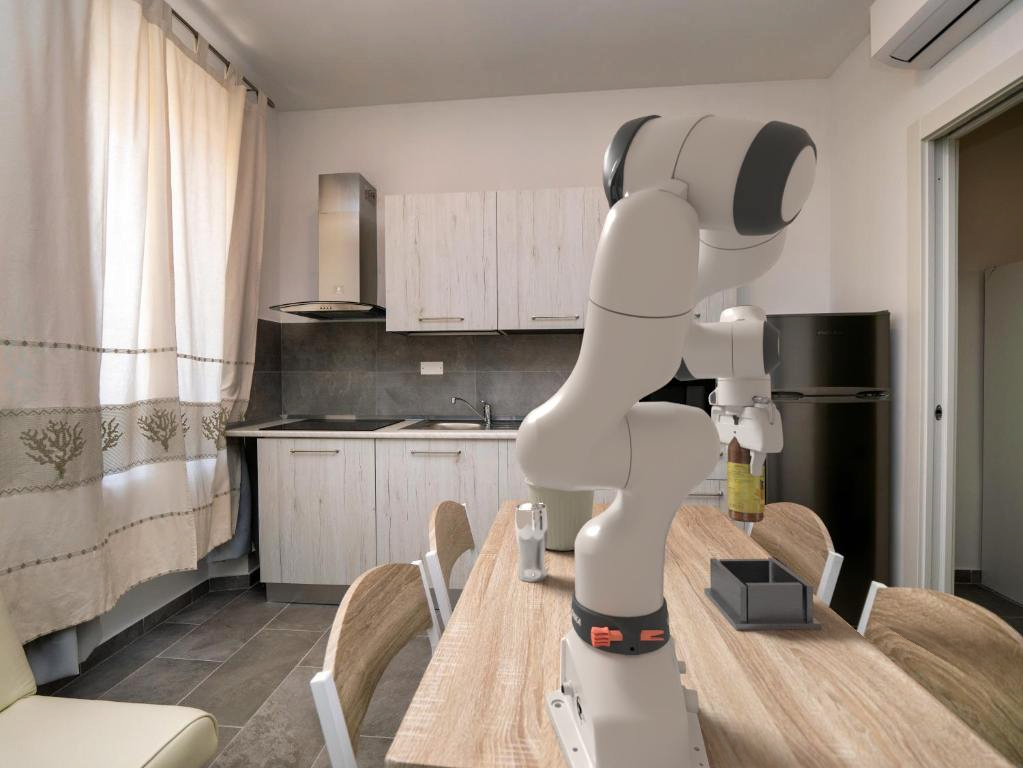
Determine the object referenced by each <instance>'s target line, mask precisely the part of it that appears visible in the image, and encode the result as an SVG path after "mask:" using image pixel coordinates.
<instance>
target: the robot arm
mask: <svg viewBox="0 0 1023 768" xmlns="http://www.w3.org/2000/svg"><path fill="white" fill-rule="evenodd" d="M817 153H818V150H817V146H816V143H815V142H814V141H813V139H812V138H811V136H810V135H809V133H808V131H806V129H805V128H803V127H800V126H798V125H795V124H791V123H788V122H784V121H780V120H771V121H769V122H763V121H758V120H752V119H751V120H750V119H745V118H737V117H729V116H728V117H726V116H716V115H715V114H709V113H704V114H703V113H702V114H701V113H698V114H696V113H695V114H694V113H693V114H691V113H690V114H678V115H668V116H667V115H666V116H661V115H659V114H658V115H657V114H652V115H651V114H650V115H646V116H640V117H637V118H634V119H630V120H628V121H626V122H625V123H623V124H622V125H621V126H620V127H619V128H618V130H617V131H616V132H615V135H613V137H612V138H611V140H610V141H609V144H608V145H607V148H606V150H605V153H604V157H603V163H602V170H601V171H602V174H601V175H602V184H603V189H604V191H603V192H604V195H605V198H606V200H607V203H608V207H609V211H608V213H607V215H606V217H605V220H604V223H603V227H602V229H601V234H600V237H599V241H598V244H597V246H596V247H597V248H596V251H595V256H594V261H593V265H592V266H593V267H592V272H591V276H590V277H591V278H590V283H589V284H590V285H589V292H588V301H587V307H586V308H587V310H586V316H585V317H586V318H585V325H584V331H583V336H582V342H581V347H580V351H579V356H578V359H577V361H576V363H575V365H574V368H573V370H572V371H571V373H570V374H569V376H568V378H567V379H566V381H565V382H564V384H563V385H562V386H561V387H560V388H559V389H558V390H557V392H556V393H555V394H553V395H552V397H550V398H549V399H548V400H547V401H545V402H544V403H542V404H541V405H539V406H537V407H536V408H534V409H533V410H531V411H530V412H529V413H528V414H527V415H526V416H525V417H524V419H523V420H522V422H521V424H520V426H519V428H518V431H517V433H516V438H515V456H516V460H517V463H518V465H519V468H520V470H521V472H522V475H524V476H525V479H526V478H527V479H528V480H529V481H530V482H531V483H532V484H533V485H535V486H540V487H546V488H551V489H557V490H564V491H593V490H594V491H611V490H612V491H613V490H614V491H616V490H617V494H616V496H615V498H614V500H613V501H612V503H611V504H610V505H609V506H608V507H607V508H606V509H605V510H604V511H603V512H601V513H599V514H597V515H596V516H594V517H592V519H590V520H589V521H588V522H586V523H585V525H584V526H583V527H582V528H581V530H580V531H579V533H578V535H577V537H576V540H575V549H574V590H573V591H572V594H571V595H572V597H571V603H570V612H571V624H572V627H570V629H569V630H568V632H567V633H566V634H565V635H563V637H562V638H561V640H560V652H559V653H560V657H559V660H560V661H559V688H558V689H555V690H554V691H551V692H550V693H548V695H547V696H546V701H545V708H546V710H547V713H548V715H549V718H550V721H551V724H552V726H553V728H554V731H555V734H556V737H557V738H558V742H559V744H560V746H561V749H562V751H563V754H564V757H565V759H566V762H567V765H568V768H711V767H710V763H709V758H708V754H707V750H706V746H705V741H704V738H703V734H702V729H701V724H700V721H699V717H698V713H700V712H699V711H700V702H699V701H700V700H699V695H698V691H697V690H695V689H693V688H686V685H684V684H683V683H682V679H681V675H686V674H687V665H686V662H685V661H683V660H678V658H677V653H676V638H675V637H673V636H672V634H671V630H670V614H669V610H668V603H667V599H666V598H665V595H664V591H665V590H664V589H665V588H664V587H665V586H664V580H665V577H664V576H665V559H666V558H665V556H666V548H667V547H666V546H667V541H668V535H669V532H670V529H671V527H672V524H673V521H674V520H675V517H676V515H677V513H678V511H679V510H680V508H681V506H682V504H683V503H684V501H686V499H687V498H688V496H689V495H690V494H691V493H692V492H693V491H694V490H695V489H696V488H697V487H698V486H700V485H701V484H702V483H703V482H705V481H706V480H707V479H708V478H709V477H711V475H712V474H713V472H714V471H715V469H716V468H717V465H718V463H719V459H720V457H721V446H722V445H721V443H722V444H725V449H726V453H727V454H728V451H727V449H728V445H729V443H730V442H731V440H732V439H733V437H734V436H735V437H736V438H737V440H738V442H739V444H740V446H741V447H742V448H746V449H750V456H752V458H751V463H750V465H748V469H749V470H748V473H749V474H751V475H753V476H761V475H762V465H763V463H764V464H765V461H766V458H767V454H769V453H770V454H772V453H774V454H775V453H778V454H779V453H781V452H782V450H783V448H784V435H783V433H784V432H783V424H782V418H781V413H780V411H779V409H777V406H776V404H774V402H773V400H772V390H771V389H772V387H771V386H772V384H771V383H772V382H771V375H770V373H771V372H773V371H774V370H775V369H776V368H777V367H779V366H780V364H782V362H781V360H780V337H781V331H780V330H779V329H778V328H777V327H775V326H774V325H773V324H771V323H770V322H769V321H768V319H767V315H766V311H765V309H763V308H762V307H760V306H758V305H757V306H756V305H753V304H752V305H750V304H746V305H745V304H743V305H736V306H735V305H734V306H732V307H729V308H726V309H725V310H723V311H722V312H721V313H720V316H719V321H715V322H714V321H713V322H696V321H694V320H695V319H694V318H695V313H696V308H697V306H698V305H699V304H700V303H701V302H703V301H705V300H706V299H708V298H710V297H713V296H716V295H719V294H721V293H723V292H727V291H730V290H733V289H737V288H740V287H743V286H746V285H748V284H751V283H753V282H754V281H756V280H758V279H759V278H761V277H762V276H764V275H765V274H766V273H768V272H769V271H770V270H771V269H772V268H773V267H774V266H775V265H776V263H778V261H779V259H780V257H781V255H782V253H783V251H784V247H785V243H786V239H787V233H788V226H789V225H791V224H792V223H793V222H794V221H795V220H796V218H797V217H798V216H799V214H800V212H801V211H802V210H803V208H804V206H805V203H806V202H807V200H808V198H809V197H810V195H811V192H812V189H813V186H814V182H815V179H816V172H817V160H818V154H817ZM673 378H676V379H677V380H678V381H680V382H684V381H696V380H701V379H702V380H705V379H717V386H716V388H715V389H714V390H713V391H712V392H711V393H710V394H709V396H708V402H709V405H711V414H710V415H711V416H710V415H709V414H708V413H707V412H706V411H705V410H704V409H703V408H700V407H696V406H691V405H687V404H682V403H681V404H680V403H675V402H671V401H670V402H669V401H641V402H639V401H640V400H642V399H643V398H644V397H647V396H648V395H650V394H652V393H654V392H656V391H658V390H659V389H661V388H664V386H666V385H667V384H668V383H670V381H672V379H673ZM733 415H737V417H739V420H738V425H734V419H733ZM734 431H736V433H734Z"/></svg>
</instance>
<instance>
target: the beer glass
mask: <svg viewBox="0 0 1023 768" xmlns="http://www.w3.org/2000/svg"><path fill="white" fill-rule="evenodd" d="M514 517H515V518H514V530H515V531H514V532H515V537H516V538H515V539H516V545H517V550H518V556H519V557H518V558H519V564H518V565H519V566H518V572H517V577H518V579H519V580H521V581H523V582H528V583H537V582H541V581H544V580H545V579H546V578H547V569H546V563H545V559H546V557H545V555H546V549H547V548H546V543H547V536H548V517H547V506H546V505H545V504H543V503H537V502H530V501H528V502H521V503H517V504H516V506H515V514H514Z"/></svg>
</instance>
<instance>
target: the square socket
mask: <svg viewBox="0 0 1023 768" xmlns="http://www.w3.org/2000/svg"><path fill="white" fill-rule="evenodd" d="M709 563H710V564H709V565H710V572H709V574H710V577H709V578H710V579H709V580H710V587H704V591H703V592H704V593H703V594H704V595H705V596H706V597H707V598H708V599H709V600H710V602H711V603H712V604H713V606H715V607H716V609H717V610H718V611H719V613H721V615H722V616H723V617H724V618H725V619H726V620H727V622H728V623H729V625H731V626H732V627H733V629H734V630H735V631H782V630H783V631H785V629H786V631H789V630H790V629H792V630H793V631H794V629H796V631H797V630H801V631H803V630H804V631H805V629H807V630H808V629H817V630H822V623H821V622H820V621H818V620H817V618H815V617H814V585H812V584H811V583H809V582H808V581H807V580H805V579H804V578H802V577H801V576H799V575H798V574H797V573H796V572H794V571H793V570H791V569H790V568H788V567H787V566H786V565H784V564H783V563H781V562H780V561H779V560H777V559H776V558H775V557H767V558H721V559H720V558H719V560H718V559H717V558H716V557H715V558H714V557H713V558H710V559H709ZM802 629H803V630H802ZM790 631H791V630H790ZM808 631H809V630H808Z"/></svg>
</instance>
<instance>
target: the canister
mask: <svg viewBox="0 0 1023 768" xmlns="http://www.w3.org/2000/svg"><path fill="white" fill-rule="evenodd" d="M524 482H525V483H526V484H527V491H528V499H529V501H528V502H537V503H543V504H545V505H546V506H547V517H548V536H547V543H546V549H547V550H552V551H559V552H560V551H563V552H565V551H575V540H576V537H577V535H578V533H579V531H580V530H581V528H582V527H583V526H584V525H585V523H586V522H588V521H589V520H590V519H592V518H593V511H594V510H593V508H594V499H595V497H594V496H595V490H593V491H564V490H557V489H551V488H546V487H540V486H535V485H533V484H532V483H531V482H530V481H529V480H528V479H527V478H526V477H525V479H524Z"/></svg>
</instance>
